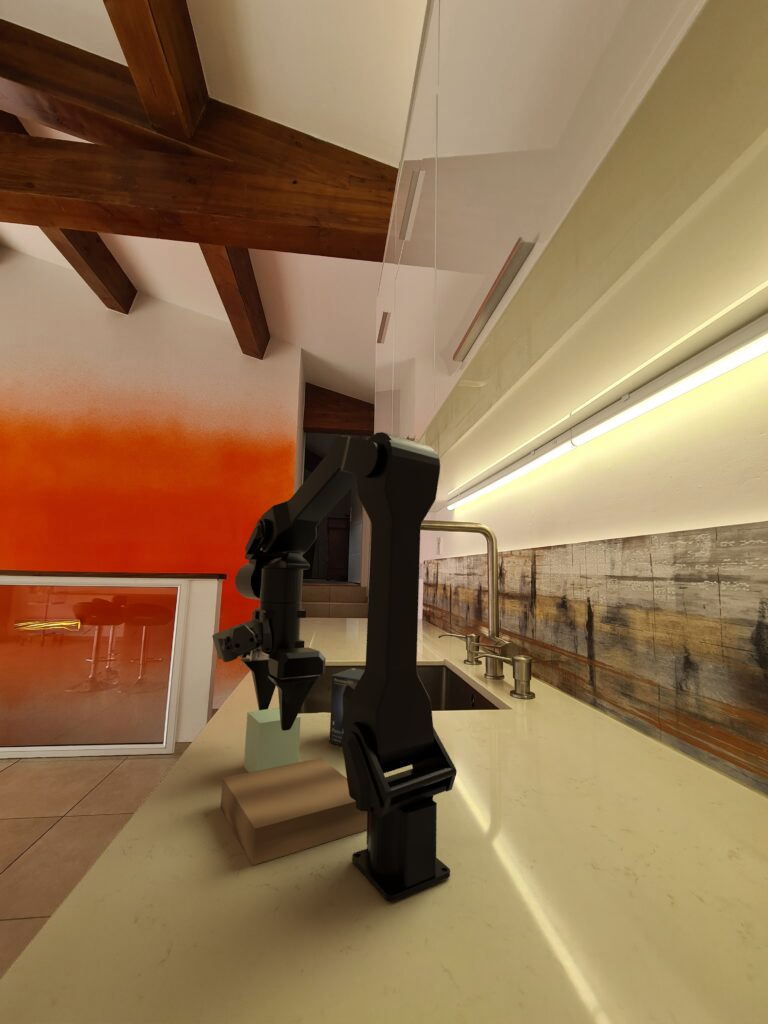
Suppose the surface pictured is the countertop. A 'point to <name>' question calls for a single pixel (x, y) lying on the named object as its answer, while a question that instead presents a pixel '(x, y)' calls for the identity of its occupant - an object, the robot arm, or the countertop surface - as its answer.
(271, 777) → the walnut block
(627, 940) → the countertop surface
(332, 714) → the small box
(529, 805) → the countertop surface
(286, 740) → the sage block
